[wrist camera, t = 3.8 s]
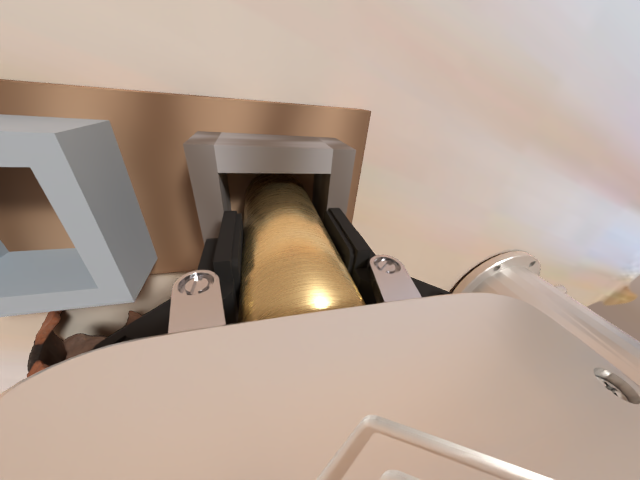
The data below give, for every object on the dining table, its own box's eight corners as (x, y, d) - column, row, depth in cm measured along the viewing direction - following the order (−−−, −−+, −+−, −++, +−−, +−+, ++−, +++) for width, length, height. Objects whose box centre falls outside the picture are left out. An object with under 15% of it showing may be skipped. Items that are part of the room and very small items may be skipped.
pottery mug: (52, 265, 16) (63, 349, 12) (186, 274, 24) (224, 327, 20) (-6, 401, 18) (-15, 523, 13) (140, 368, 26) (165, 438, 21)
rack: (109, 120, 12) (54, 133, 8) (157, 258, 16) (134, 302, 13) (-141, 106, 9) (-347, 117, 6) (-5, 270, 14) (-83, 326, 11)
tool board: (361, 109, 16) (401, 116, 11) (340, 247, 21) (361, 285, 17) (-186, 63, 9) (-512, 46, 5) (-8, 273, 15) (-101, 341, 11)
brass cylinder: (307, 170, 15) (410, 321, 5) (304, 225, 17) (375, 405, 7) (242, 169, 14) (222, 351, 4) (247, 227, 16) (242, 439, 6)
